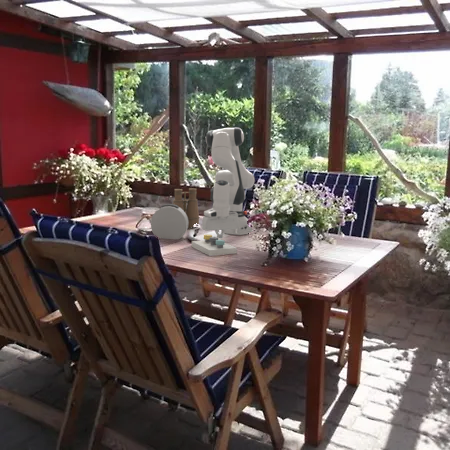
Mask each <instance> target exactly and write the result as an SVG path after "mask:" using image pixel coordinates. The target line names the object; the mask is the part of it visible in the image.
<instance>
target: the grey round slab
mask: <svg viewBox="0 0 450 450" xmlns="http://www.w3.org/2000/svg"><path fill="white" fill-rule="evenodd" d="M188 224H189V222H188V217H187V215H186V211H185V212H184V211H183V210H182V209H181V208H180V207H179V206H177V205H174V204H173V203H166V204H162V205H161V207H160V208H158V209H157V210H156V211H155V212H154V213H153V214H152V216H151V219H150V229H151V231H152V234H153V235H154V236H155V235H156V236H158V237H159V238H158V239H166V240H167V239H168V240H170V239H171V240H181V239H182V237H184V236H185V234H186V233H187V231H188V230H189V228H188ZM156 236H155V237H156Z"/></svg>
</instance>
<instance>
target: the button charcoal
mask: <svg viewBox="0 0 450 450" xmlns="http://www.w3.org/2000/svg"><path fill="white" fill-rule="evenodd" d="M216 240H219V238H217V236H212V237H210V240H209V241H210V242H211V245H216Z"/></svg>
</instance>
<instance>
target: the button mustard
mask: <svg viewBox="0 0 450 450" xmlns="http://www.w3.org/2000/svg"><path fill="white" fill-rule="evenodd" d="M210 237H213V235H212V234H207V233H206V234H203V240H205V242H210V241H209V240H210Z"/></svg>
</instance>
